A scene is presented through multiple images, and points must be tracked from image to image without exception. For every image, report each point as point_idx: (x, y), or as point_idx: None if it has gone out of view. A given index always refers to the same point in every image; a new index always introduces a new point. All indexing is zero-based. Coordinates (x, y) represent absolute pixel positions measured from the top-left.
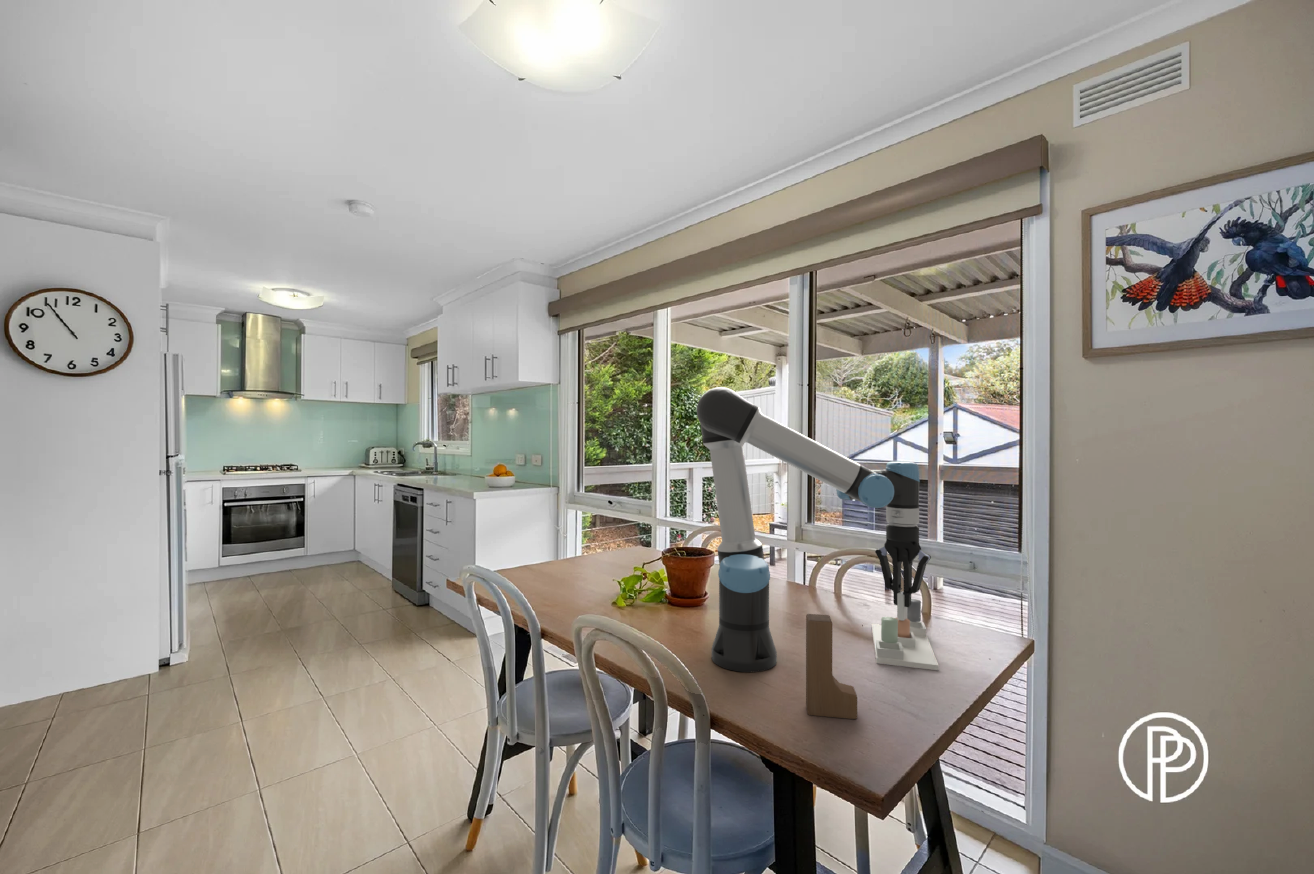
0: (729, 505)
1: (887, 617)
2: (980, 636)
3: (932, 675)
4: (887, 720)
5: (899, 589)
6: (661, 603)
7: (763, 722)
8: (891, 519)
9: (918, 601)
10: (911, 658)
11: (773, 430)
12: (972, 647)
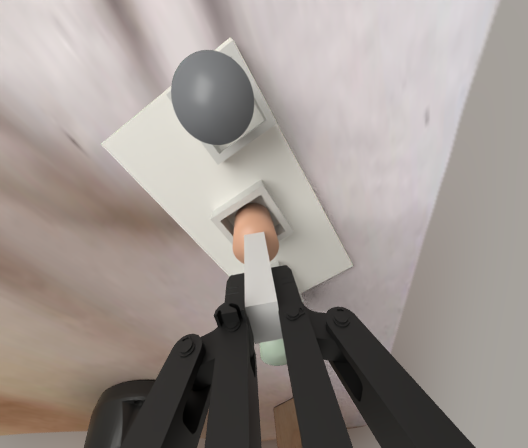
0: None
1: (270, 348)
2: None
3: (346, 281)
4: (340, 382)
5: (251, 340)
6: None
7: (268, 432)
8: None
9: (241, 93)
10: (307, 275)
11: None
12: (383, 56)
